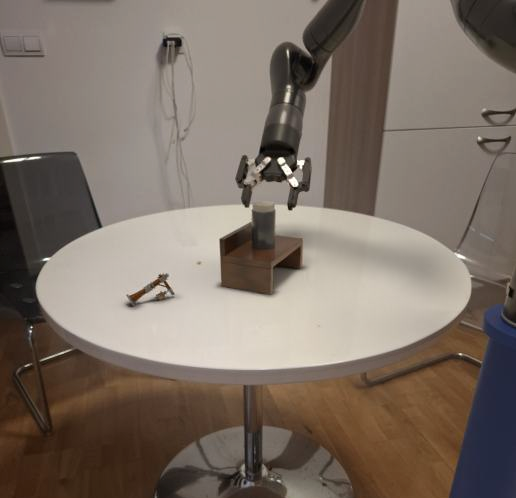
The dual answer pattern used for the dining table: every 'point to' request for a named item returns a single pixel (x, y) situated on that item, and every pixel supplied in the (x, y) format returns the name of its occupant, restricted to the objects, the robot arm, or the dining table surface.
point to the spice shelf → (255, 260)
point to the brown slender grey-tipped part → (149, 287)
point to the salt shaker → (263, 225)
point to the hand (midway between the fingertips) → (267, 206)
